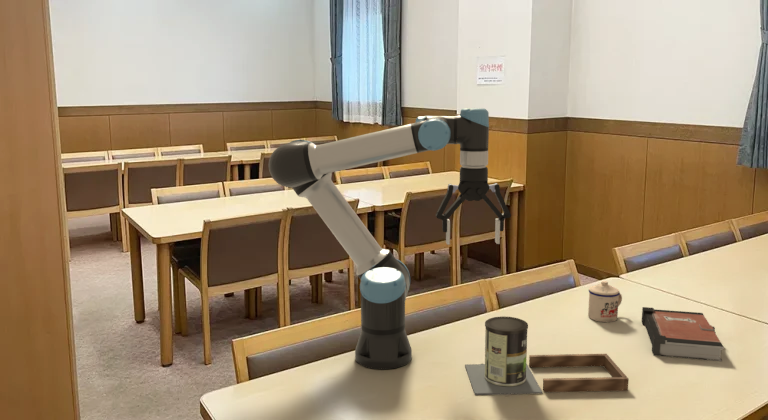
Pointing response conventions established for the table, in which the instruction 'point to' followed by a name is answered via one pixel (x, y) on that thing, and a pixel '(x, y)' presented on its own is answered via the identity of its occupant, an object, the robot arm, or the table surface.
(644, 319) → the book
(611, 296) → the teacup with lid
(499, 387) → the rubber mat
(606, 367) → the frame
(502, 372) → the coffee can
